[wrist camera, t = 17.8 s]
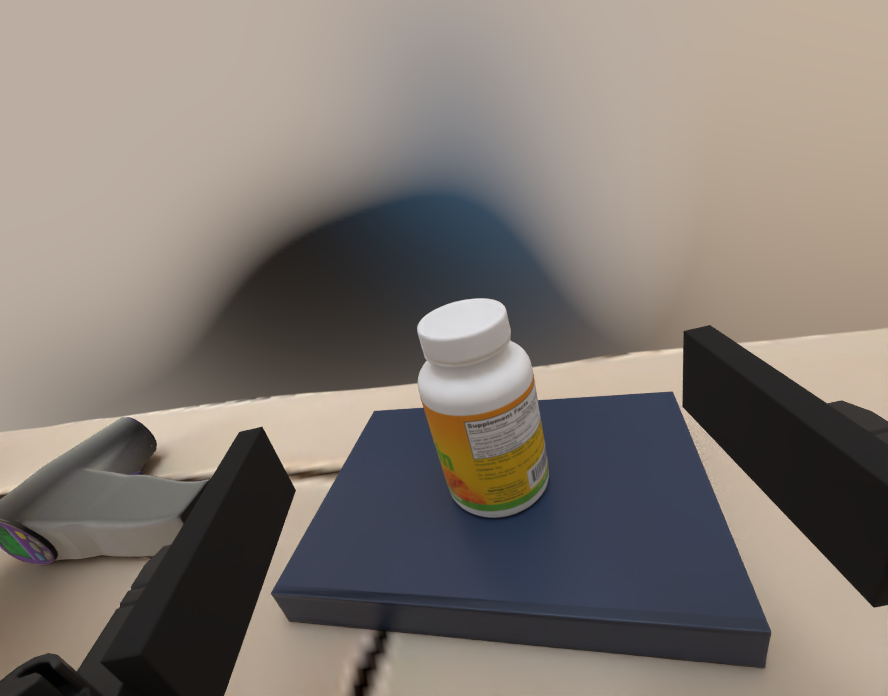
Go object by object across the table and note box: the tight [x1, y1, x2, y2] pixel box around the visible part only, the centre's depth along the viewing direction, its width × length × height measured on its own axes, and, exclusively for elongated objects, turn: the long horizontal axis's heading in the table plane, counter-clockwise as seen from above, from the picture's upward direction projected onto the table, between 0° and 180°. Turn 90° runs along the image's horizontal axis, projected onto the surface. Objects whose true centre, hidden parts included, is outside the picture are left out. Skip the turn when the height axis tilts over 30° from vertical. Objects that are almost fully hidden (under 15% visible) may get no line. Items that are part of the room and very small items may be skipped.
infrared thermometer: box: [0, 417, 210, 565], centre depth 32 cm, size 5×12×15 cm
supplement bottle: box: [417, 298, 549, 518], centre depth 21 cm, size 5×5×10 cm
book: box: [271, 392, 771, 668], centre depth 24 cm, size 20×14×2 cm
